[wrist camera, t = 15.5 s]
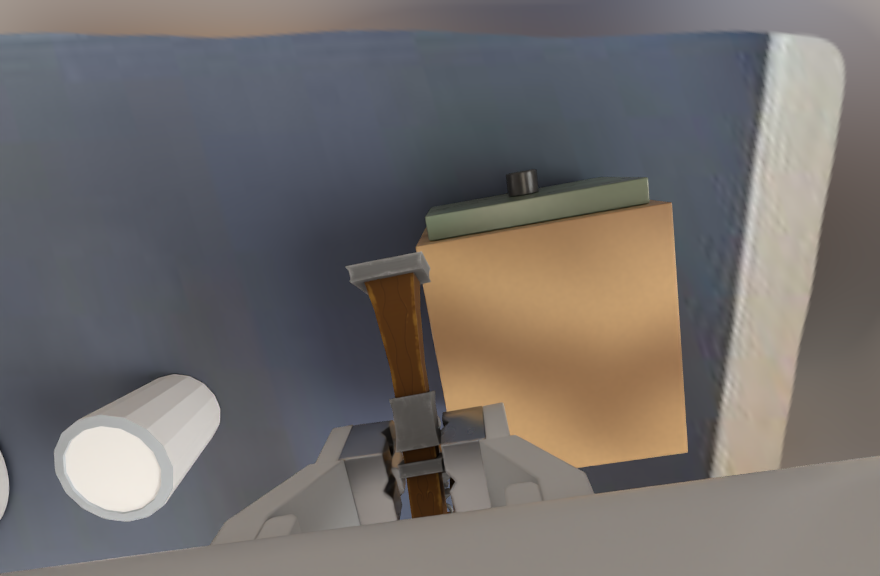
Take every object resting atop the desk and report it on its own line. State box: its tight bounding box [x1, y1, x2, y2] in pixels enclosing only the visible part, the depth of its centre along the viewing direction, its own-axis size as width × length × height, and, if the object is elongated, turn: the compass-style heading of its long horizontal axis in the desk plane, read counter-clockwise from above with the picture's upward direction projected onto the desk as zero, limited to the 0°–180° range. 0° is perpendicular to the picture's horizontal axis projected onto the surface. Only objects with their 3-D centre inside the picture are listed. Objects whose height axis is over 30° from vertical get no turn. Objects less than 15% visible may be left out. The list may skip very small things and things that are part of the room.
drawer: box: [425, 169, 650, 241], centre depth 26 cm, size 13×10×7 cm
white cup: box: [54, 374, 220, 522], centre depth 30 cm, size 7×7×7 cm
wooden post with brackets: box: [345, 251, 454, 518], centre depth 12 cm, size 2×8×4 cm, turn 12°
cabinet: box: [416, 200, 688, 468], centre depth 27 cm, size 13×12×9 cm
